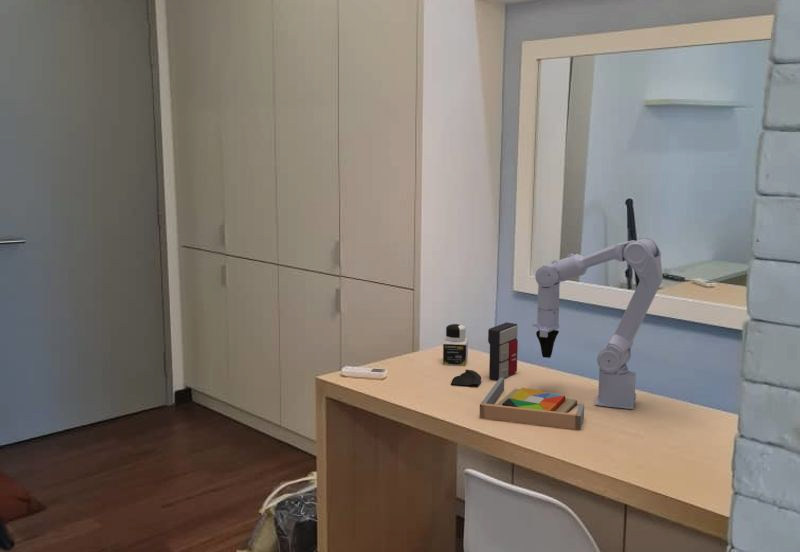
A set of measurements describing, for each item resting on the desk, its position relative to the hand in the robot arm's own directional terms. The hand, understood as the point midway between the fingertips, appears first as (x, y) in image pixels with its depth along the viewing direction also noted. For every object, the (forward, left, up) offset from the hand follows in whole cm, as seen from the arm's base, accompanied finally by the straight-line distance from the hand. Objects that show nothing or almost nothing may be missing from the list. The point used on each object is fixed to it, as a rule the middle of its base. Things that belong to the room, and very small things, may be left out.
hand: (546, 357), depth 204 cm
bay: (0, +15, -10) cm, 18 cm away
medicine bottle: (+31, -19, -10) cm, 38 cm away
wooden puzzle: (+1, +15, -10) cm, 18 cm away
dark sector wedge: (+22, -2, -10) cm, 25 cm away
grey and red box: (+14, -10, -10) cm, 20 cm away
